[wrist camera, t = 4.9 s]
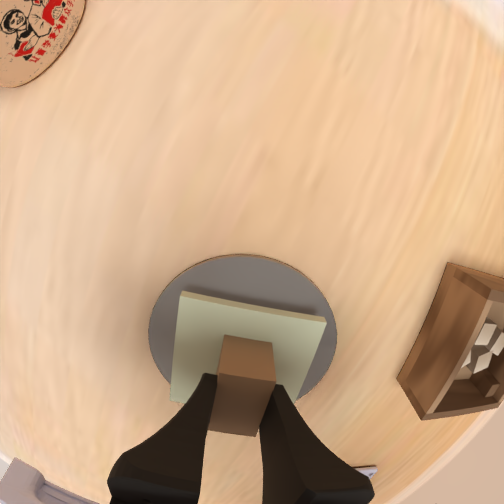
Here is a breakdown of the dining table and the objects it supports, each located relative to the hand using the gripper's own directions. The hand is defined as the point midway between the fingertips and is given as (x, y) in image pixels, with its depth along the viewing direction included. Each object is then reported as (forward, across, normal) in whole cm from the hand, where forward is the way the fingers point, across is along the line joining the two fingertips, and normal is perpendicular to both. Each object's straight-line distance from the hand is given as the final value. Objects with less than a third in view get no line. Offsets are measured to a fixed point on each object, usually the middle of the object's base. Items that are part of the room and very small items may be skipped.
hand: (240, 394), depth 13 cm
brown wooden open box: (+4, -16, -3) cm, 17 cm away
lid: (+3, 0, 0) cm, 3 cm away
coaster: (+4, 0, 0) cm, 4 cm away
